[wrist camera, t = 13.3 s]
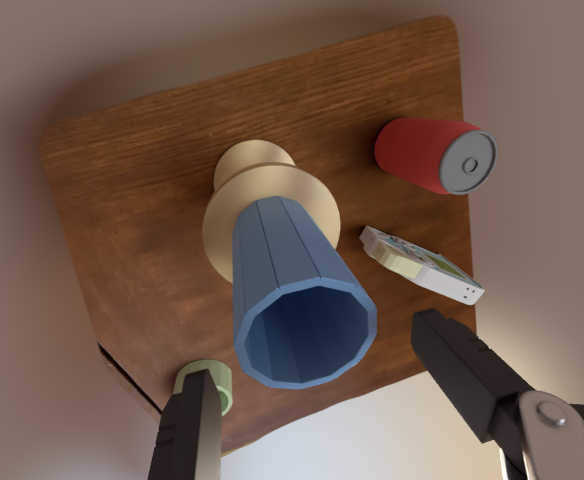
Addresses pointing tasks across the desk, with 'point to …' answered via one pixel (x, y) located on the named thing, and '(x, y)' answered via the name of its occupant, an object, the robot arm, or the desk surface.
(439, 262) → the handheld gaming console
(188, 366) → the green cup
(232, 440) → the desk surface
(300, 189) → the stand
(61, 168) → the desk surface
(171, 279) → the desk surface
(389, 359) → the desk surface
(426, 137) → the beer can
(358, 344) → the blue cup
